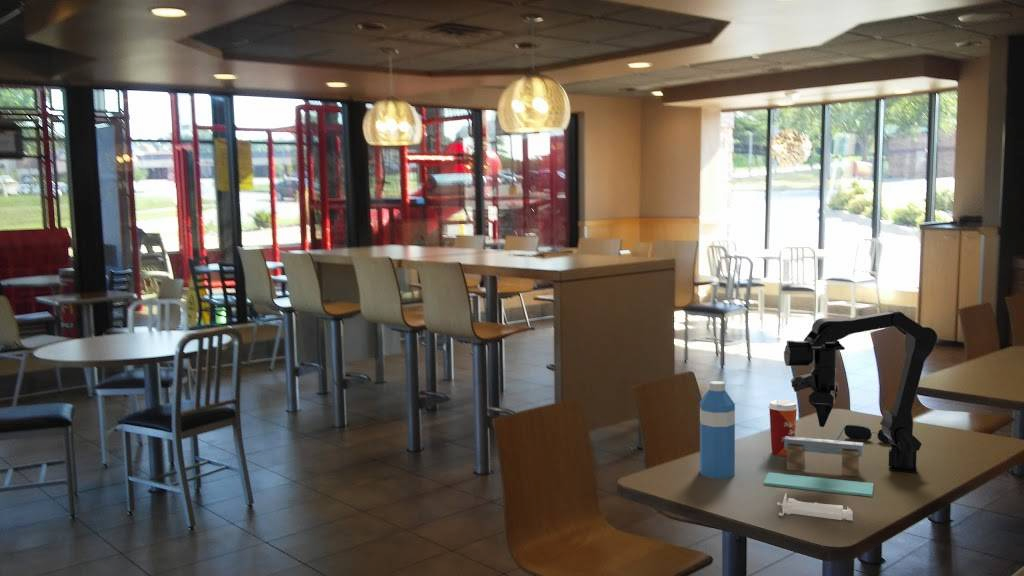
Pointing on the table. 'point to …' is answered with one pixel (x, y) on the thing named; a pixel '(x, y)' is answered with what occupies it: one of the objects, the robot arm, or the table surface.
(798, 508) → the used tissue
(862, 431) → the sunglasses
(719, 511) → the table surface
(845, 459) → the stand
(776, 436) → the coffee cup
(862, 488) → the mat
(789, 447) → the stand
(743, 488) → the table surface
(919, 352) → the robot arm
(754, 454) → the table surface
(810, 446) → the rail
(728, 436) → the water bottle
